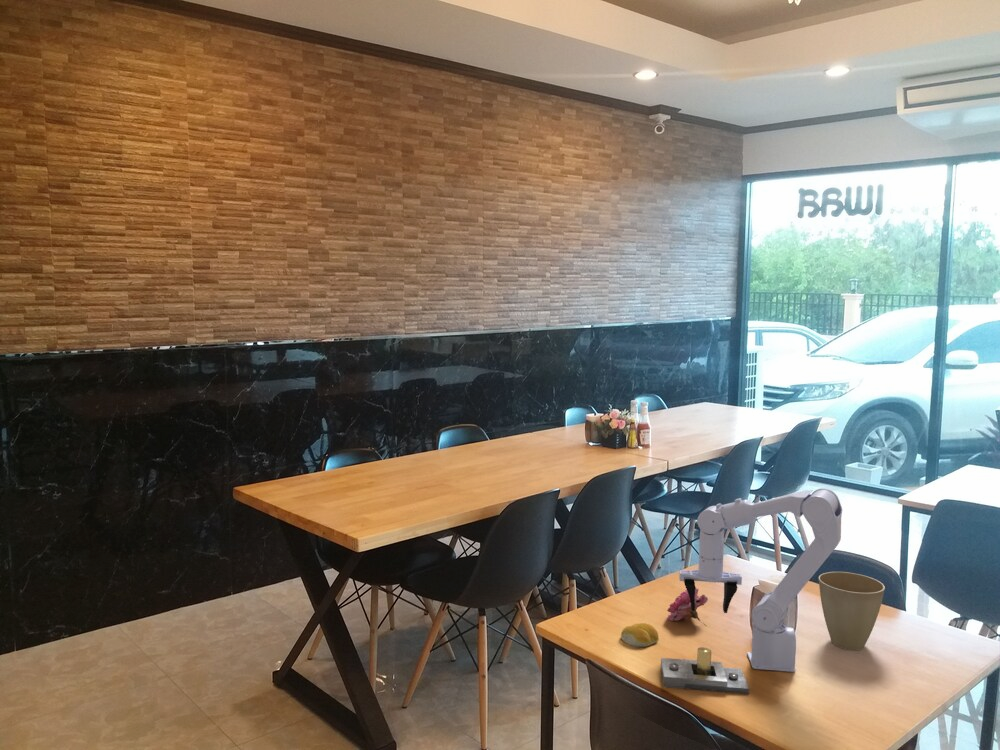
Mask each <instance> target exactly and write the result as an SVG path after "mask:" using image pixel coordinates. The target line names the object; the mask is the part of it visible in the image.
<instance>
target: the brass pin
mask: <svg viewBox="0 0 1000 750" xmlns="http://www.w3.org/2000/svg"><path fill="white" fill-rule="evenodd" d="M696 655H697V657H696V660H697V675H704V676H710V674H711V662H712V650H711V648H708V647H703V646H701V647H698V648H697V654H696Z"/></svg>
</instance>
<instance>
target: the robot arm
mask: <svg viewBox="0 0 1000 750" xmlns="http://www.w3.org/2000/svg"><path fill="white" fill-rule="evenodd" d="M782 513H792V514H793V515H795V516H796V517H798V518H802V516H803V517H804V518H805V520H806V521H807V523H808V525H809V526H810V527H811V529H812V533H813V537H814V538H813V540H812V542H811V543H810V544H809V545H808V547H807V548H806V549H805V550H804V552H803V553H802V554H801V555H800V557H799V558H798V559H797V561H796V562H795V563H794V564H793V565H792V567H791V568H790V569H789V570H788V572H787V573H786V574H785V576H783V578H782V580H781V581H780V582H779V583H778V584H777V585H776V587H775V588H774V589H773V590H772V591H771V592H768V593H766V594H764V595H763V596H762V597H761V598H760V599H761V600H760V601H759V602H758V603H757V605H755V606H754V608H753V609H752V610H751V621H752V639H751V640H752V641H751V651H747V652H746V654H747V658H748V659H749V662H750V665H751V667H752V669H754V670H763V671H764V670H765V671H776V672H777V671H779V672H789V673H794V672H795V673H796V653H797V652H796V651H797V637H796V632H795V629H794V628H793V627H789V626H787V625H786V623H785V620H784V619H783V618H784V617H786V615H787V613H788V612H789V606H790V604H791V603H792V602H793V601H794V599H795V598H796V597H797V596H798V595H799V593H800V592H801V591H802V590H803V588H804V587H805V586H806V585H807V584H808V582H809V581H810V579H811V578H812V577H813V576H814V575H815V574H816V572H817V571H818V570H819V569H820V568H821V566H823V564H824V563H825V561H826V560H827V559H828V558H829V556H830V555H831V554H832V553H833V552H834V550H836V548H837V547H838V545H839V544H840V542H841V540H842V515H843V514H842V513H843V508H842V504H841V501H840V500H839V497H838V495H837V494H836V493H835V492H834V491H833V490H831V489H828V488H824V487H823V488H818V489H815V490H814V491H813V489H809V490H808V489H807V490H802V491H798V492H793V493H792V492H791V493H789V494H784V495H781V496H777V497H774V498H769V499H766V500H763V501H759V502H758V501H757V502H753V501H750V500H748V499H742V498H741V497H739V498H736V499H734V501H733V502H728V503H725V504H722V503H717V504H716V505H711V506H708V507H707V508H705V509H704V510H703V511H701V512H700V513H699V515H698V516H697V518H696V519H697V521H696V522H697V523H696V524H697V526H698V528H699V530H700V531H699V540H698V543H699V545H698V568H697V569H690V570H678V571H679V574H678V579H679V581H680V582H684V586H685V590H687V591H688V594H689V597H690V603H691V610H692V611H695V588H697V587H696V585H695V584H696V582H706V583H708V582H709V583H723V602H722V612H723V613H724V614H728V610H729V607H730V604H731V602H732V599H733V597H734V596H735V594H736V593H737V591H738V585H740V586H741V585H743V584H742V582H743V581H742V580H743V579H742V578H743V577H742V575H741V574H740V573H732V572H726V571H723V570H724V550H725V548H724V547H725V529H726V530H729V529H733V528H738V527H743V526H749V525H751V524H752V525H753V524H754V523H755V522H756V520H757V518H759V517H760V518H761V517H766V516H772V515H776V514H777V515H779V514H782Z"/></svg>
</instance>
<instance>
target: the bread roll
mask: <svg viewBox="0 0 1000 750" xmlns="http://www.w3.org/2000/svg"><path fill="white" fill-rule="evenodd" d="M620 637H621V639H622V641H623V642H625V643H626V644H628V645H630V646H632V647H639V648H641V647H644V648H645V647H648V646H650V645H654V644H655V643H656V644H657V642H659V632H658V630H657V629H656V628H655V627H654V626H653V625H651V624H650V623H646V622H640V623H634V624H632V625H628V626H626V627H624V628H623V629H622V631H621V634H620Z"/></svg>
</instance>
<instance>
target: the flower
mask: <svg viewBox="0 0 1000 750" xmlns="http://www.w3.org/2000/svg"><path fill="white" fill-rule="evenodd" d="M698 593H699V588H697V587H696V588H695V611H692V610H691V603H690V597H689V594H688V591H687V589H685V590H684V591H683V592H681V593H680V594H679V595H678V596H677V597H676V598H675V599H674V602H673V603H670V604H669V605H668V606H669V607H668V608H667V610H666V611H667V612H668V613H670V614H668V615H667V620H669V621H671V622H675V621H676V622H677V621H680V620H682V619H688V618H693V619H695V620H698V621H699V622H701V619H700V618H699V614H698V611H697V610H698V608H700V607H702V606H704V605H705V604H706V603H707V602H708V600H709V599H708V596H706V595H705V594H702V595H700V596H699V595H698ZM702 624H703V625H704V626H706V624H705V623H704V622H702Z"/></svg>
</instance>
